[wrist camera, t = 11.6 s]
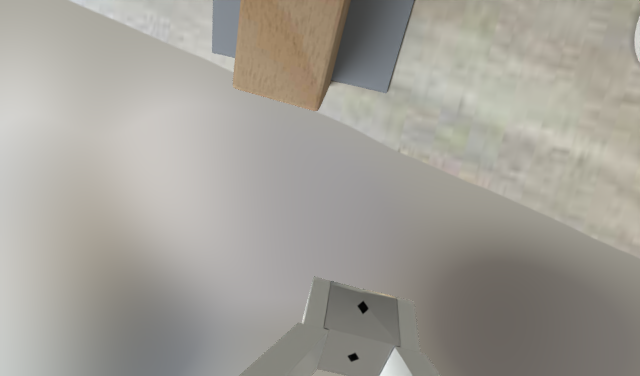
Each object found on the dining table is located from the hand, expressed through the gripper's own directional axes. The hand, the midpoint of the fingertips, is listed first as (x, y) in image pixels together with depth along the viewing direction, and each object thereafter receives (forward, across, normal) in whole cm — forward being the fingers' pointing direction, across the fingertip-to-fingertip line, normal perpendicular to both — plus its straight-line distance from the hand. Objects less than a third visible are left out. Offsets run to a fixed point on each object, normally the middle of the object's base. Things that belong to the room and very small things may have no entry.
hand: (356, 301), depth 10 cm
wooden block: (+34, +9, -15) cm, 38 cm away
